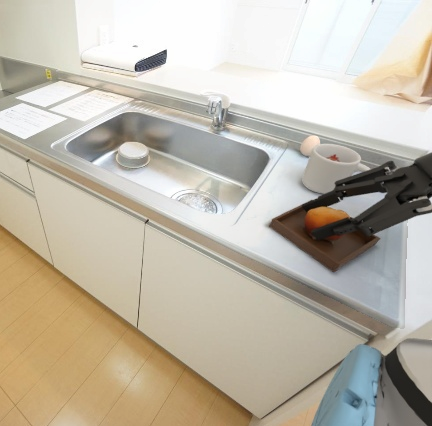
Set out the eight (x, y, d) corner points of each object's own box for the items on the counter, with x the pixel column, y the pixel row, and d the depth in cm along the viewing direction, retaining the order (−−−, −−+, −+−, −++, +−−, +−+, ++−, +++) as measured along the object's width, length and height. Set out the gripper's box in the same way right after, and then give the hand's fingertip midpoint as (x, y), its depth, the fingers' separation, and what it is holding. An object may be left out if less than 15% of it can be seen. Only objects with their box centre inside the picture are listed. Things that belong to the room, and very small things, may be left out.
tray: (374, 246, 60) (381, 238, 58) (333, 272, 55) (339, 264, 54) (307, 206, 70) (311, 199, 69) (268, 226, 65) (272, 218, 64)
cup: (359, 189, 75) (382, 155, 68) (353, 209, 69) (378, 173, 62) (302, 172, 82) (318, 139, 75) (292, 188, 76) (308, 154, 69)
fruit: (308, 244, 58) (318, 206, 57) (294, 235, 66) (303, 202, 64) (353, 252, 56) (365, 213, 55) (334, 242, 64) (344, 208, 62)
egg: (294, 151, 91) (302, 132, 86) (309, 151, 91) (318, 132, 86) (301, 159, 87) (311, 139, 83) (317, 159, 87) (327, 139, 83)
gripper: (510, 220, 41) (332, 268, 55) (429, 152, 56) (305, 203, 70) (497, 186, 38) (313, 245, 52) (416, 124, 53) (290, 183, 67)
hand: (309, 221), depth 61 cm, fingers closed on fruit, 8 cm apart
